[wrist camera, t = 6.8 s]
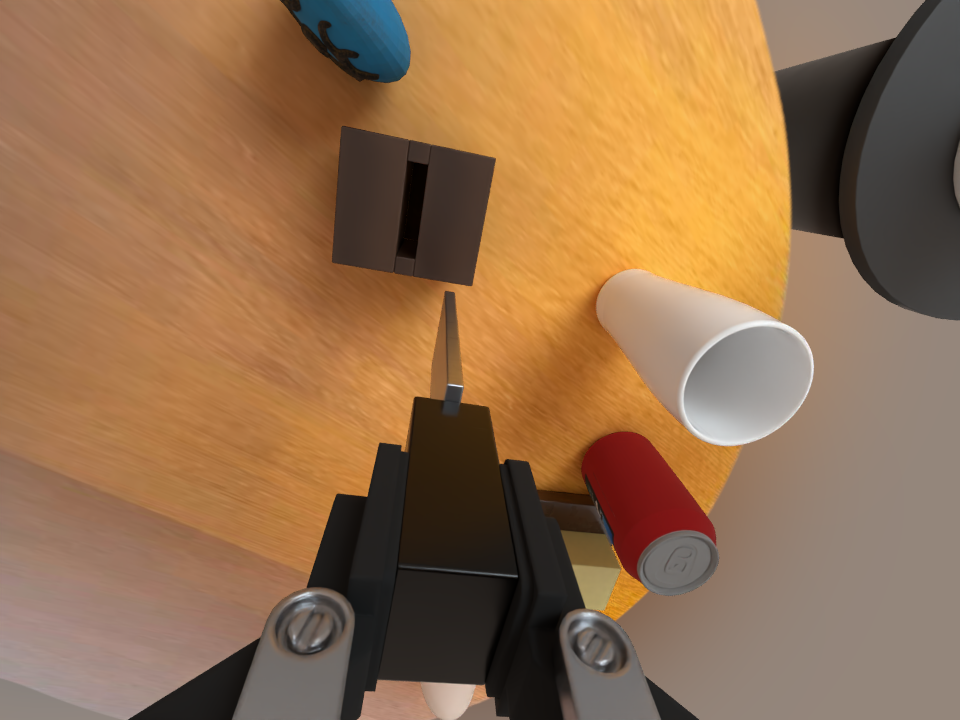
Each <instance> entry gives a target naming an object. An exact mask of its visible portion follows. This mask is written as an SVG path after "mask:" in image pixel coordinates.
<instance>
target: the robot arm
mask: <svg viewBox="0 0 960 720" xmlns="http://www.w3.org/2000/svg"><path fill="white" fill-rule="evenodd" d="M953 181H954V189H955V196H956V199H957V201H958V204H959V207H960V141H959V145H958V149H957V153H956V157H955V162H954V175H953ZM408 460H409V453H408V452H402V451H401V445H394V444H387V443H379V447H378V452H377V456H376V461H375V465H374V470H373V474H372V479H371V483H370V488H369V492H368V497H364V496H355V495H346V494H337V495H336V497H335V500H334V503H333V506H332V509H331V512H330V516H329V519H328V522H327V525H326V528H325V531H324V534H323V538H322V541H321V544H320V547H319V550H318V553H317V556H316V560H315V563H314V566H313V569H312V572H311V575H310V578H309V582H308V585H307V588H305V589H302V590H299V591H296V592H294V593H292V594H290V595H289V596H287V597H285V598H284V599H282V600H281V601H280V602H279V603H278V604H277V605H276V606H275V607H274V608H273V610H272V612H271V613H270V615H269V617H268V619H267V621H266V624H265V627H264V630H263V632H262V635H261V637H260V638H259V639H257V640H255V641H254V642H252V643H250V644H249V645H247V646H246V647H244V648H242V649H241V650H239V651H238V652H236V653H234V654H233V655H231V656H230V657H228V658H226V659H225V660H223V661H221V662H220V663H218V664H217V665H215V666H213V667H212V668H210V669H209V670H207V671H205V672H204V673H202V674H201V675H199V676H197V677H196V678H194V679H193V680H191V681H189V682H188V683H186V684H184V685H183V686H181V687H180V688H178V689H176V690H175V691H173V692H172V693H170V694H168V695H167V696H165V697H164V698H162V699H160V700H159V701H157V702H155V703H154V704H152V705H151V706H149V707H147V708H146V709H144V710H143V711H141V712H139V713H138V714H136V715H135V716H133V717H131V718H130V719H128V720H357V719H358V718H359V717H360V716H361V710H362V704H363V698H364V692H365V691H375V689H376V683H377V678H378V672H379V667H380V661H381V656H382V650H383V645H384V639H385V634H386V628H387V623H388V617H389V612H390V606H391V601H392V595H393V590H394V583H395V576H396V569H397V560H398V551H399V542H400V533H401V524H402V515H403V506H404V497H405V487H406V478H407V469H408ZM499 466H500V472H501V477H502V483H503V488H504V494H505V499H506V505H507V510H508V516H509V521H510V526H511V532H512V537H513V543H514V548H515V554H516V559H517V565H518V570H519V581H518V584H517V587H516V590H515V593H514V596H513V599H512V602H511V606H510V609H509V612H508V615H507V618H506V621H505V624H504V627H503V630H502V633H501V636H500V639H499V643H498V646H497V649H496V652H495V655H494V658H493V661H492V664H491V667H490V670H489V673H488V676H487V680H486V683H485V688H486V694H487V696H488V697H495V706H496V715H497V716H502V717H509V718H510V720H699V719H698V718H696V717H695V716H694V715H693V714H691V713H690V712H689V711H688V710H687V709H685V708H684V707H683V706H682V705H680V704H679V703H678V702H677V701H675V700H674V699H673V698H672V697H670V696H669V695H668V694H667V693H665V692H664V691H663V690H662V689H661V688H659V687H658V686H657V685H655V684H654V683H653V682H652V681H651V680H649V679H648V678H647V677H646V676H645V675H644V673H643V670H642V668H641V665H640V662H639V660H638V657H637V654H636V651H635V649H634V646H633V644H632V643H631V640H630V639H629V636H628V635H627V634H626V632H625V631H624V630H623V629H622V628H621V626H620V625H619V624H617V623H616V622H615V621H614V620H612V619H611V618H610V617H608V616H606V615H604V614H602V613H600V612H598V611H595V610H591V609H586V607H585V604H584V601H583V598H582V595H581V592H580V589H579V585H578V582H577V579H576V576H575V573H574V570H573V567H572V564H571V561H570V558H569V555H568V552H567V549H566V545H565V542H564V539H563V536H562V533H561V530H560V527H559V524H558V522H557V520H556V519H555V518H553V517H545V516H544V513H543V509H542V506H541V502H540V499H539V495H538V492H537V489H536V485H535V482H534V478H533V475H532V471H531V468H530V465H529V462H527V461H519V460H511V459H506V460H505V462H504V464H499Z"/></svg>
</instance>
